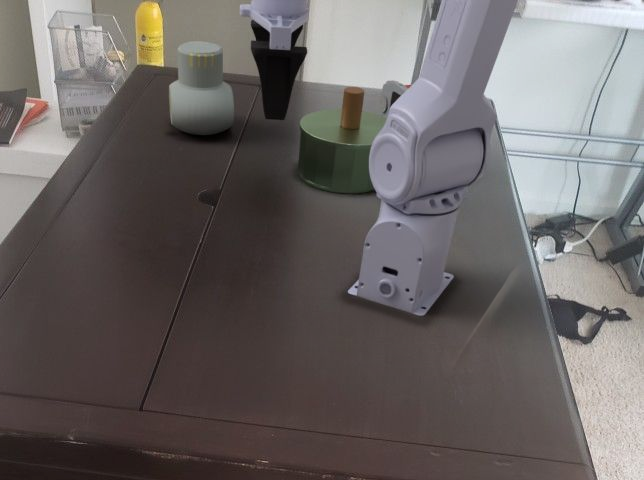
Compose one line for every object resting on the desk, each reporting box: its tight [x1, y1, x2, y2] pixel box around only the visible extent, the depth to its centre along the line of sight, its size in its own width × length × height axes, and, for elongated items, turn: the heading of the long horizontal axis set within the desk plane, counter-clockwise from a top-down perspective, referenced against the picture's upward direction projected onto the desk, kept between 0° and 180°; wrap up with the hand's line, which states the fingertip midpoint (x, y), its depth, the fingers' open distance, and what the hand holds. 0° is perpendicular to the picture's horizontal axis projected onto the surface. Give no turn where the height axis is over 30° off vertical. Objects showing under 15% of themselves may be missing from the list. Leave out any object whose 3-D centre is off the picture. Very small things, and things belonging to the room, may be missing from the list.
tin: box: [297, 131, 376, 195], centre depth 92 cm, size 11×11×5 cm
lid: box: [299, 86, 387, 149], centre depth 89 cm, size 12×12×5 cm
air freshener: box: [168, 40, 235, 136], centre depth 100 cm, size 11×8×10 cm
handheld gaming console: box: [376, 79, 413, 118], centre depth 97 cm, size 14×3×8 cm, turn 18°
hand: (274, 106), depth 82 cm, fingers open, 7 cm apart
